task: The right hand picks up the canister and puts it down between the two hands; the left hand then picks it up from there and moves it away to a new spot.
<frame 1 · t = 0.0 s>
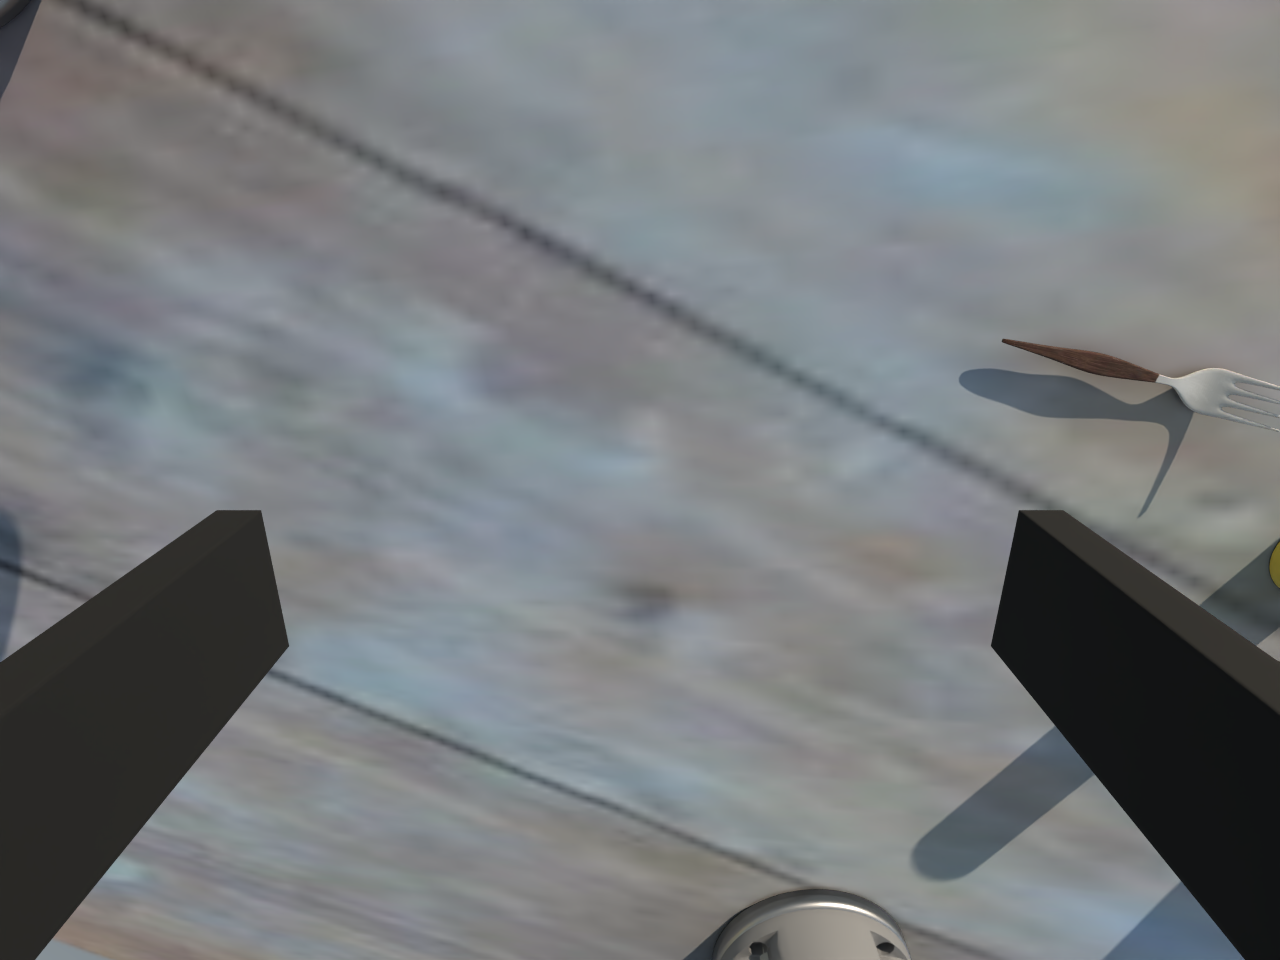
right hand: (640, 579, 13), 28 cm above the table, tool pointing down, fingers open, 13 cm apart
fork: (1129, 370, 39), on the table
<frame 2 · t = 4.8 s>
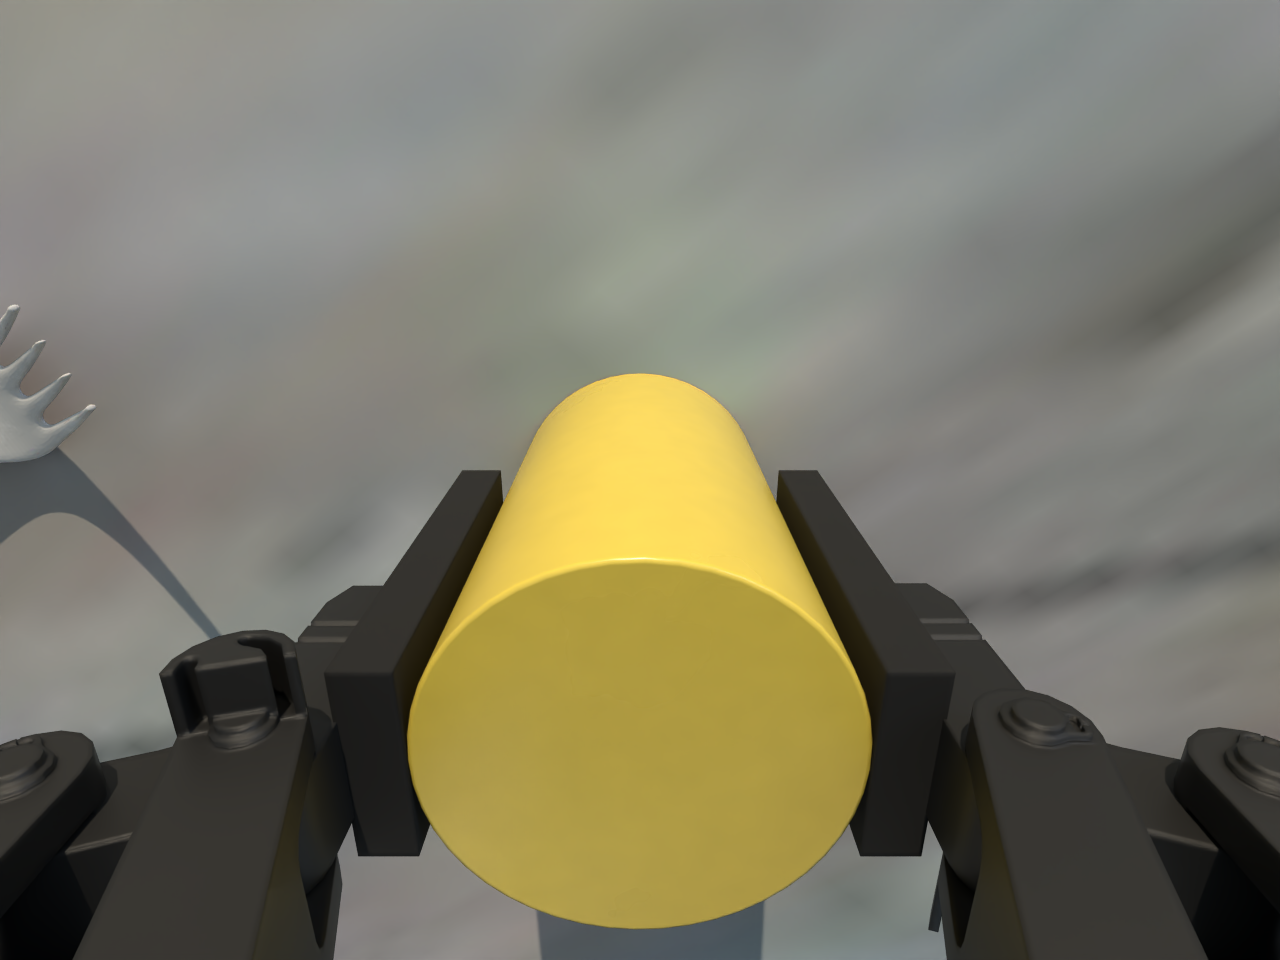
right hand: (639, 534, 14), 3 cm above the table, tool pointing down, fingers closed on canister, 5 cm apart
canister: (639, 487, 17), on the table, touching right hand
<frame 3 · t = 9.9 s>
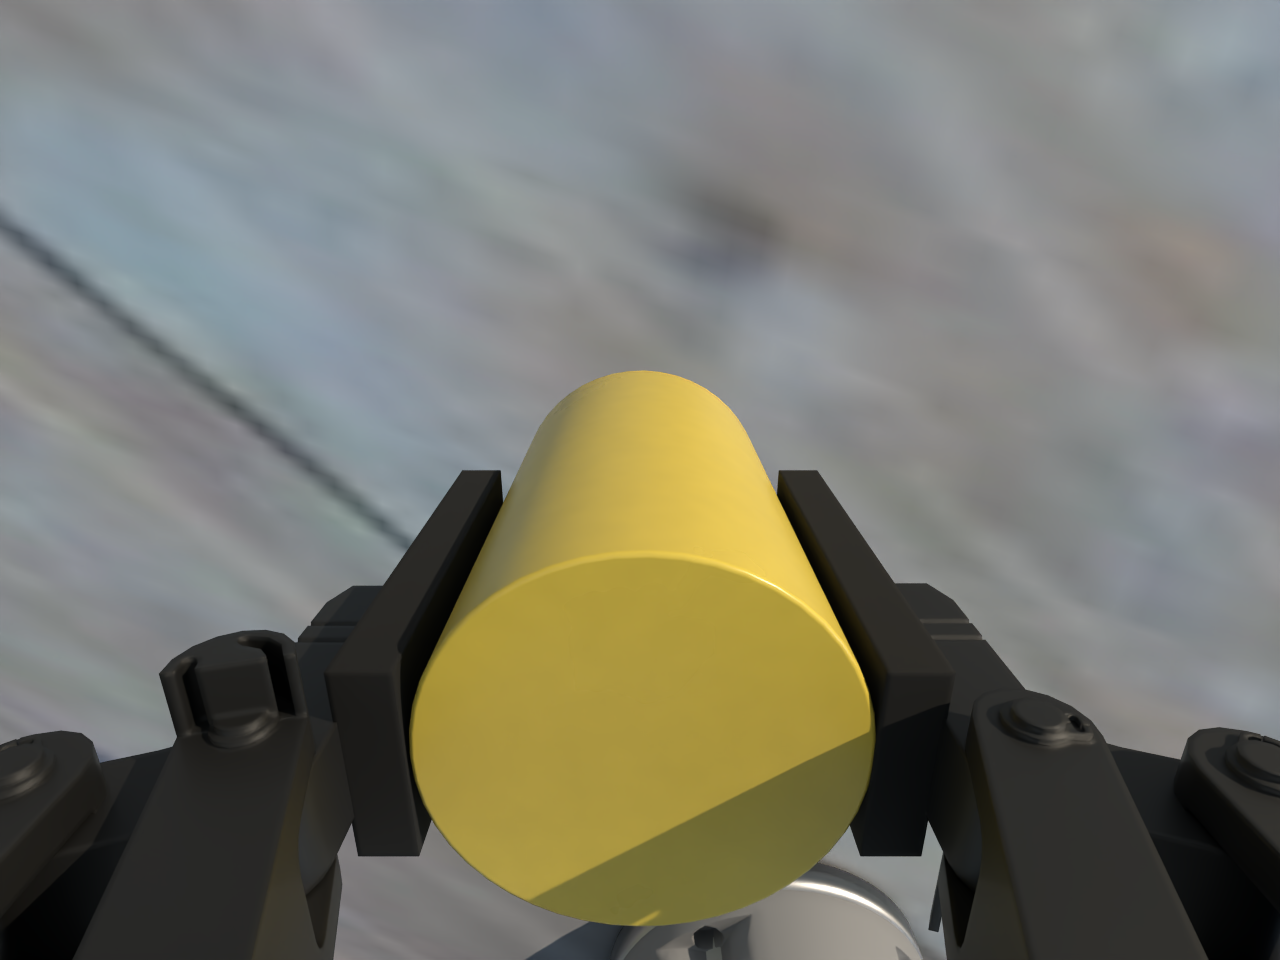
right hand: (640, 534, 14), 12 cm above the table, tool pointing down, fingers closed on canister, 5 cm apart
canister: (641, 484, 17), point 9 cm above the table, touching right hand
when the right hand's fingers open (4 cm above the table, at t = 15.3 s): canister drops 1 cm, on the table.
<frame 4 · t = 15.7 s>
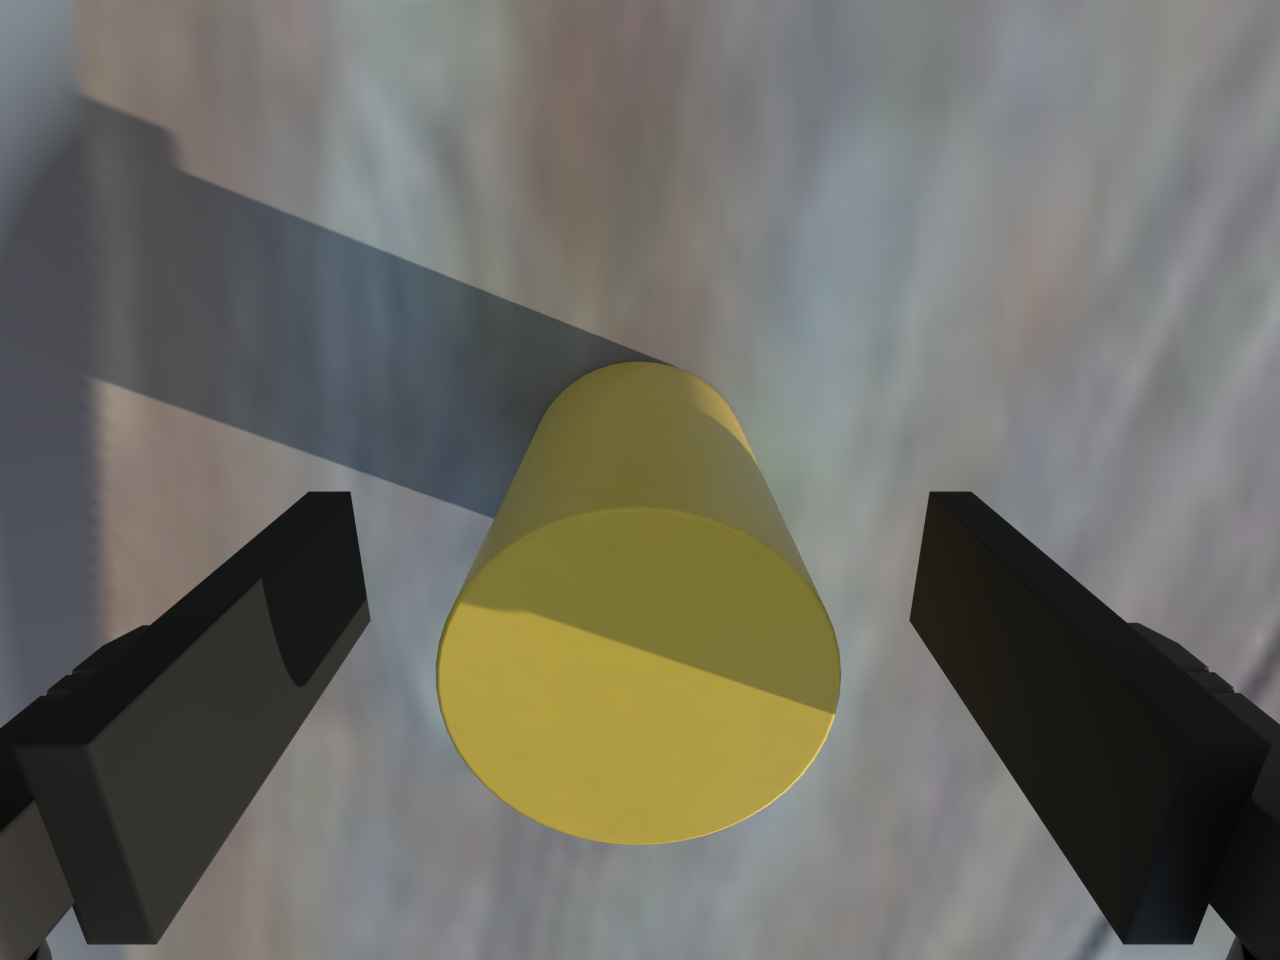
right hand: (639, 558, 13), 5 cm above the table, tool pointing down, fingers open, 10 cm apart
canister: (639, 467, 18), on the table
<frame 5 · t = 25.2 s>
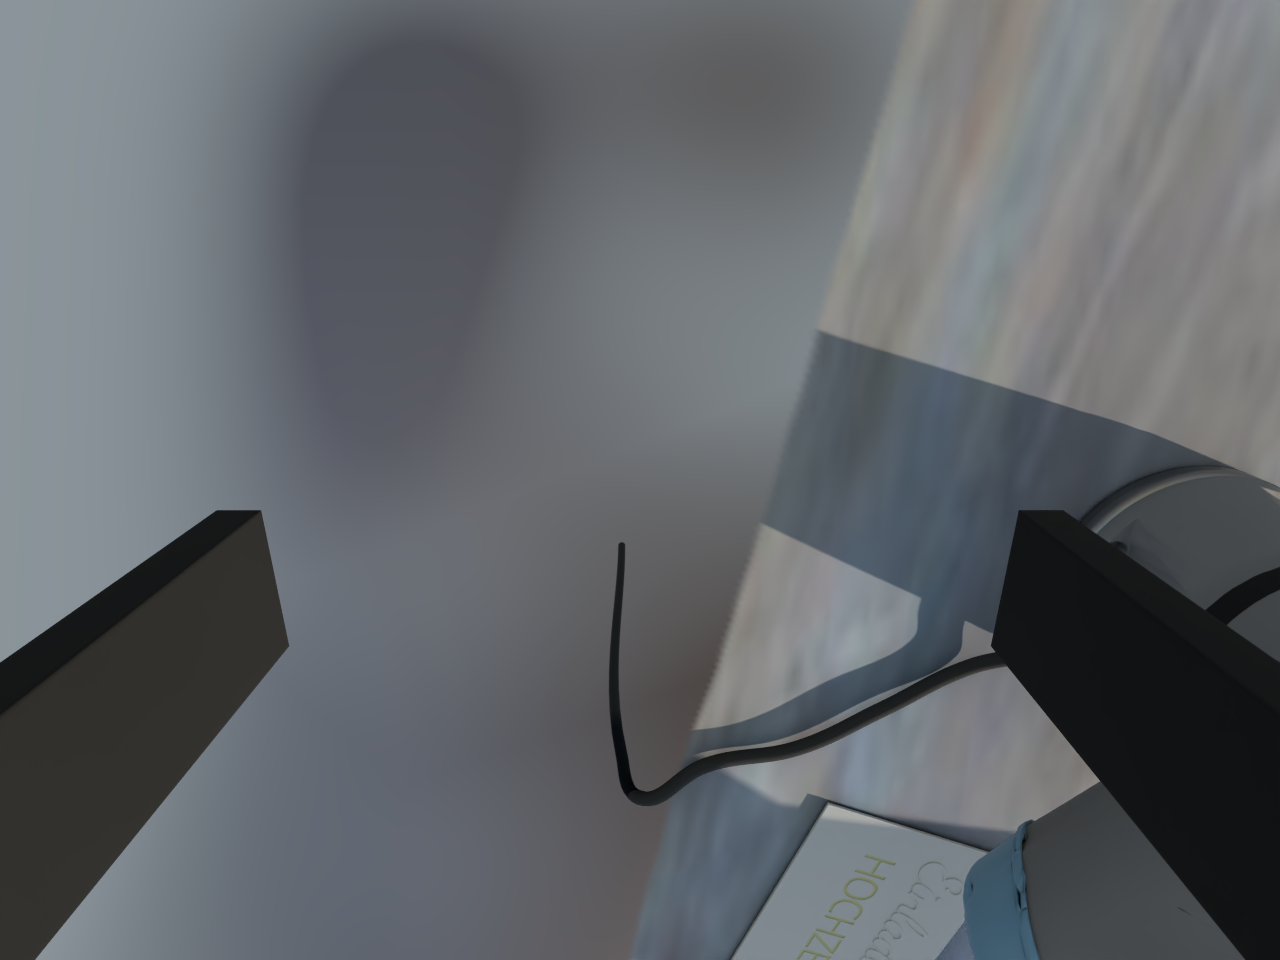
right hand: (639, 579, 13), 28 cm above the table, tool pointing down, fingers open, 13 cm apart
invitation card: (852, 925, 55), on the table
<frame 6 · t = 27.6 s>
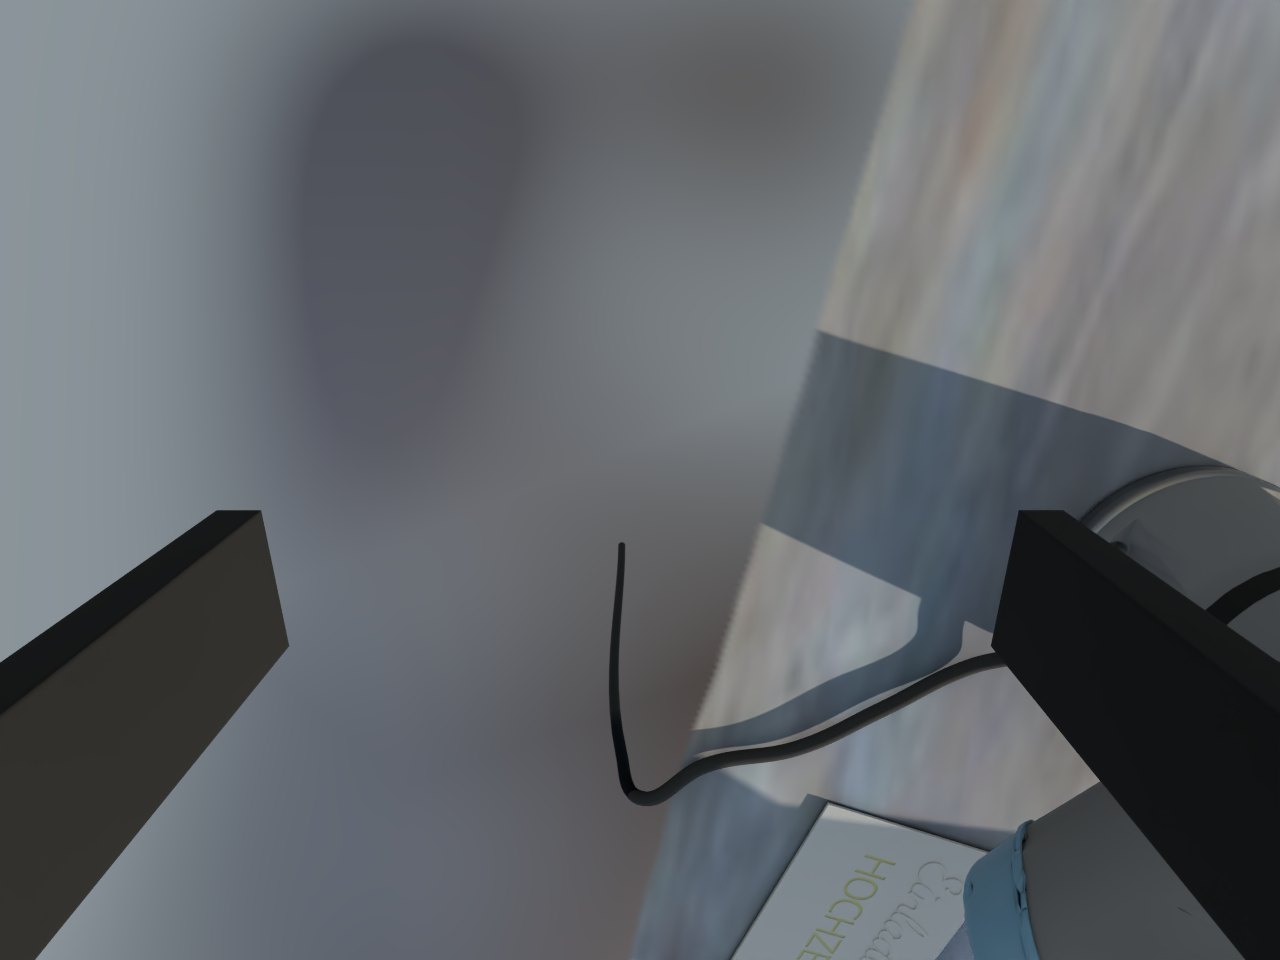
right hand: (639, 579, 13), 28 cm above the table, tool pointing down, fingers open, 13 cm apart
invitation card: (852, 925, 55), on the table
when the left hand's fingers open (4 cm above the table, at t = 30.1 s): canister drops 1 cm, on the table.
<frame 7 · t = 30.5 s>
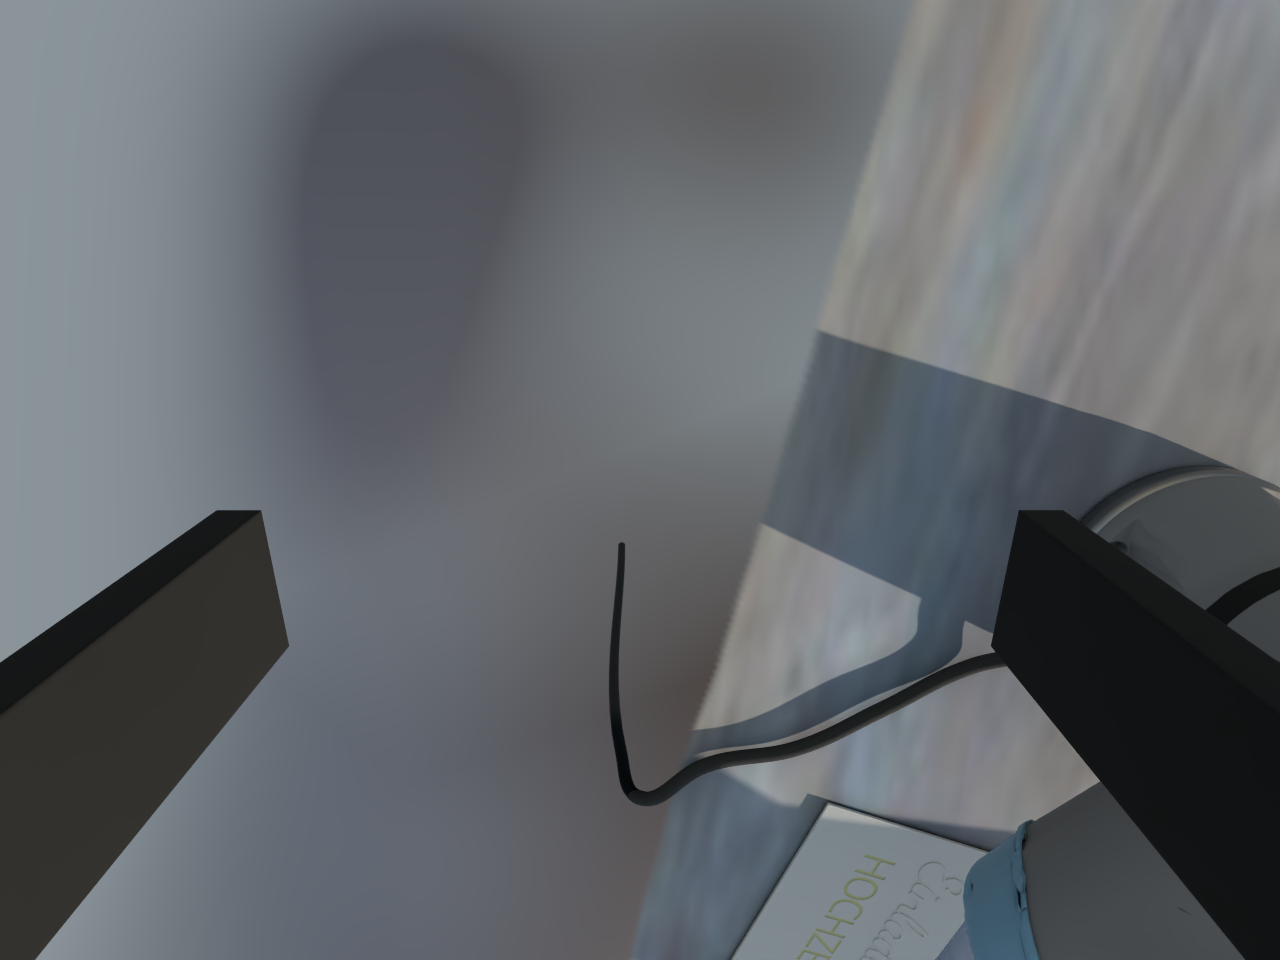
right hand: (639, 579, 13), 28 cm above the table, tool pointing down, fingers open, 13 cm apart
invitation card: (852, 925, 55), on the table
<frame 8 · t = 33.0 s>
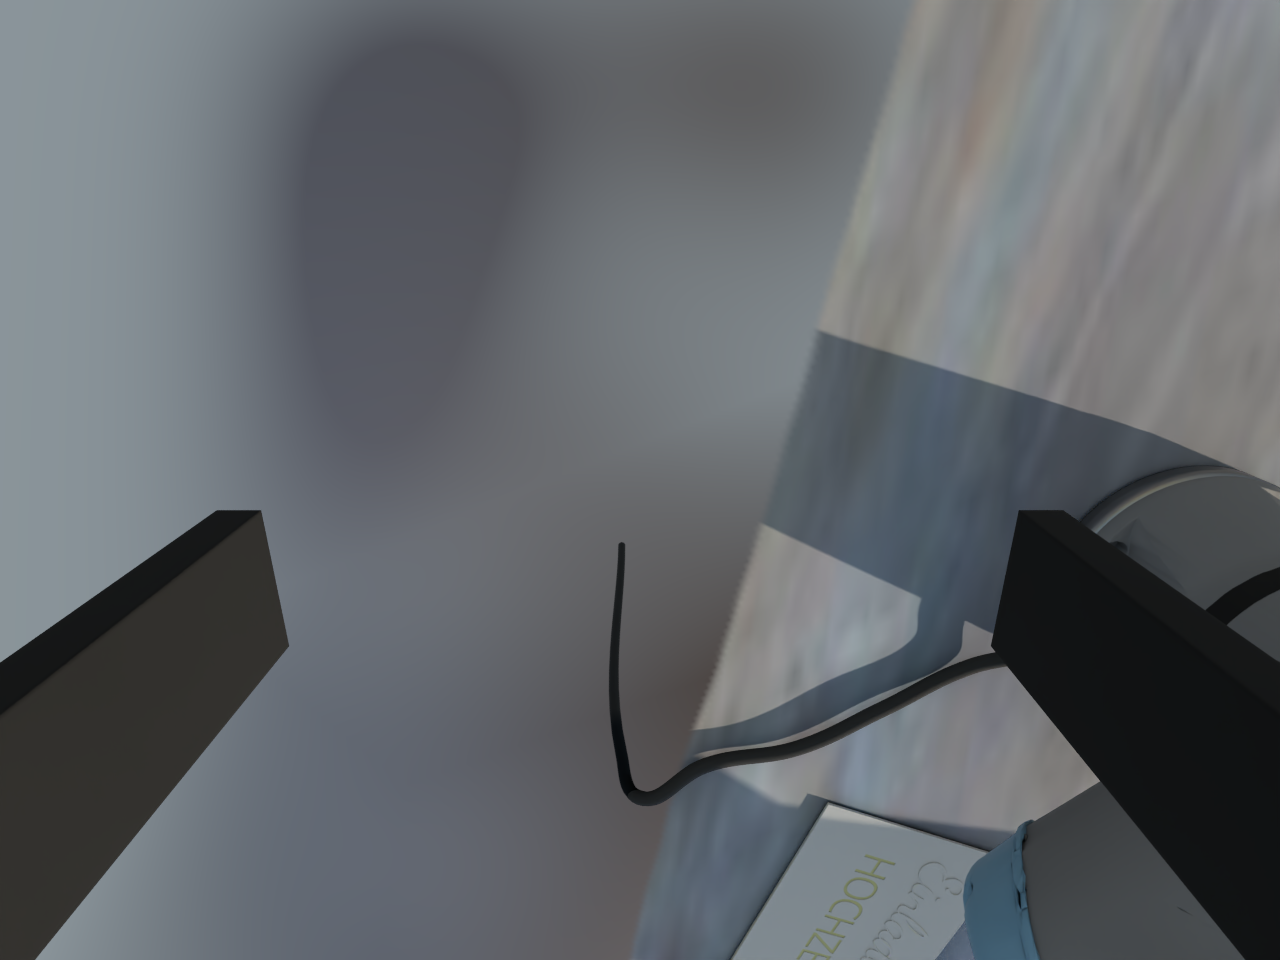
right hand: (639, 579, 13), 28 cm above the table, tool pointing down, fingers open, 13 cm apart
invitation card: (852, 925, 55), on the table
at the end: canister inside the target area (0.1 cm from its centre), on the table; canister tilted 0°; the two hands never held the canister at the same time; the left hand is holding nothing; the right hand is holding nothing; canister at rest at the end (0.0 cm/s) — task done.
